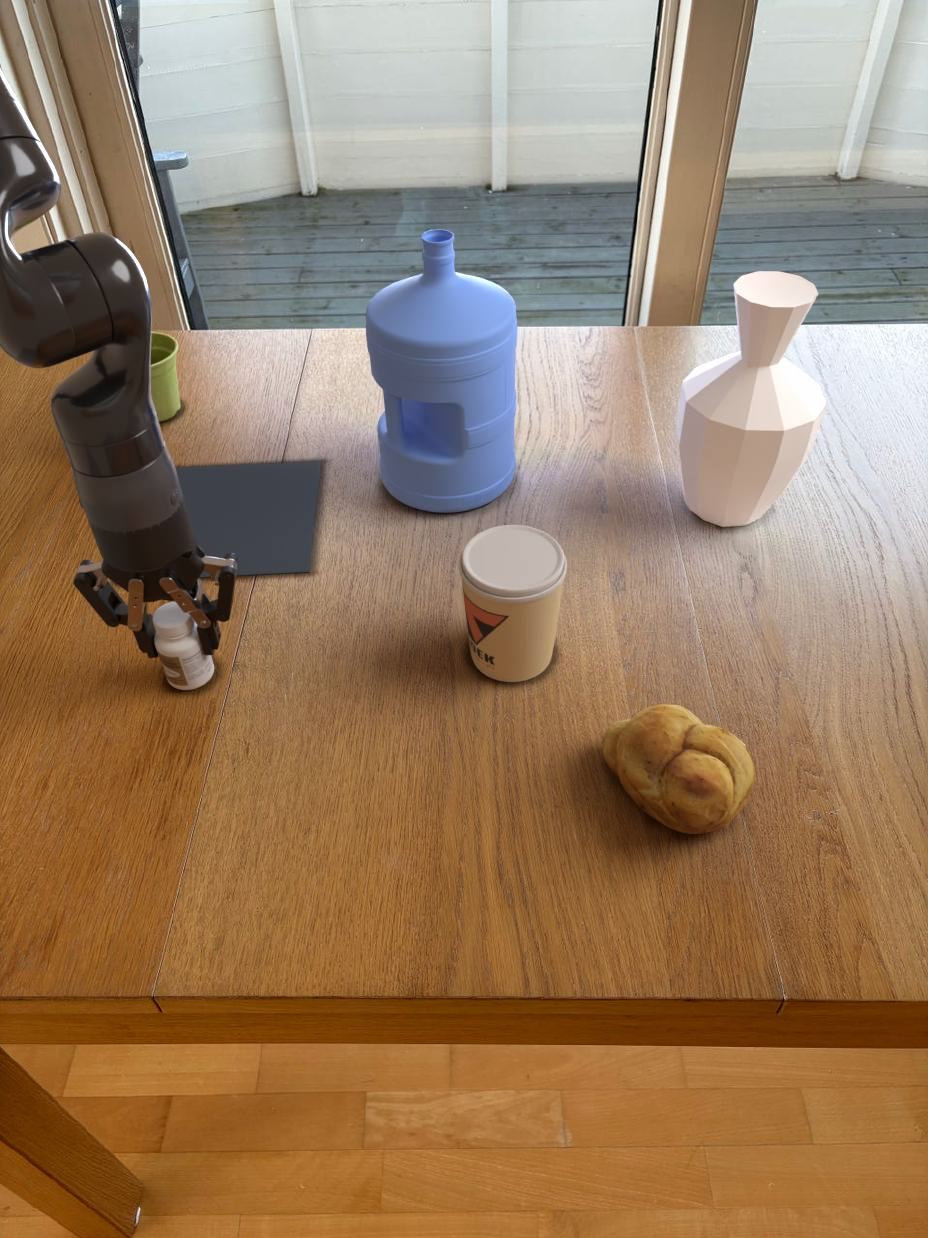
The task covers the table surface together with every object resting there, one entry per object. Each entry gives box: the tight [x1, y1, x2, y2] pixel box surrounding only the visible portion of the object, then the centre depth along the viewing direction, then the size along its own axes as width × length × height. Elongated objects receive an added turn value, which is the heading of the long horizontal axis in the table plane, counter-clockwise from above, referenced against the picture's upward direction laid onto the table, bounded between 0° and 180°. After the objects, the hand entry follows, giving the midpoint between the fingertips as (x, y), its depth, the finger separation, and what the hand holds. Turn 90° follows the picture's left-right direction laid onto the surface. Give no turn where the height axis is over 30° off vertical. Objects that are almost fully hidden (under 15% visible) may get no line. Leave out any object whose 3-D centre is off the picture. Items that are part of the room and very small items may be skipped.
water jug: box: [365, 228, 518, 514], centre depth 101 cm, size 16×16×28 cm
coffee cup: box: [458, 524, 568, 683], centre depth 86 cm, size 9×9×12 cm
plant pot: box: [151, 331, 182, 423], centre depth 119 cm, size 9×9×9 cm
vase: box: [675, 270, 828, 528], centre depth 97 cm, size 14×14×25 cm
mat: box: [175, 460, 322, 579], centre depth 106 cm, size 20×20×1 cm
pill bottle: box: [152, 601, 215, 691], centre depth 86 cm, size 4×4×8 cm
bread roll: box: [601, 703, 756, 835], centre depth 76 cm, size 13×10×8 cm
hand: (182, 649), depth 87 cm, fingers closed on pill bottle, 4 cm apart
